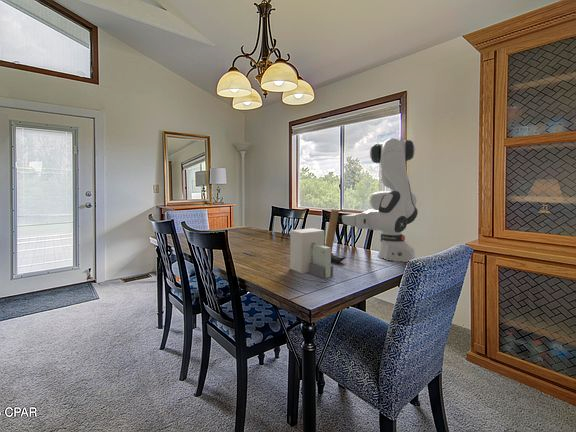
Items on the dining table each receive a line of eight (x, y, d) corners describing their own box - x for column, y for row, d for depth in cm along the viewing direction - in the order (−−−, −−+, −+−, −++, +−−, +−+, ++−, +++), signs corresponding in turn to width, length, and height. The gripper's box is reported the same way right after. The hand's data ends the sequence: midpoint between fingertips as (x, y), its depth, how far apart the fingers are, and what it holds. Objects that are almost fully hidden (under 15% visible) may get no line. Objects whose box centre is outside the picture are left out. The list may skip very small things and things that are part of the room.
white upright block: (330, 276, 147) (330, 247, 145) (324, 278, 145) (324, 248, 143) (317, 271, 155) (317, 244, 154) (311, 272, 153) (311, 244, 152)
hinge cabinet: (339, 274, 150) (339, 233, 148) (316, 279, 142) (316, 236, 140) (312, 264, 168) (312, 228, 166) (290, 268, 160) (290, 230, 158)
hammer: (343, 266, 173) (353, 214, 166) (338, 268, 169) (348, 215, 162) (316, 254, 186) (324, 205, 179) (311, 255, 183) (318, 206, 176)
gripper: (387, 210, 144) (365, 208, 156) (355, 214, 134) (334, 211, 145) (387, 224, 145) (365, 220, 157) (355, 229, 134) (334, 224, 146)
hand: (350, 216), depth 151 cm, fingers open, 8 cm apart
